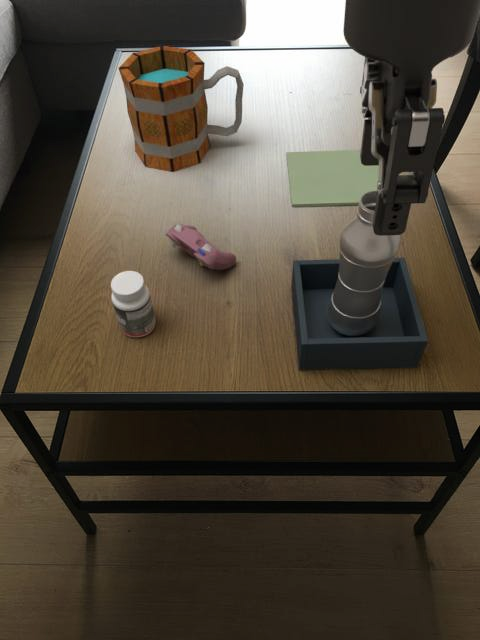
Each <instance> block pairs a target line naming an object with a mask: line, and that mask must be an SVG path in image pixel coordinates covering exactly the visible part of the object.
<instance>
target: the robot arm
mask: <svg viewBox="0 0 480 640" xmlns="http://www.w3.org/2000/svg"><path fill="white" fill-rule="evenodd" d="M479 16H480V0H345V3H344V16H343V31H342V32H343V37H344V40H345V42H346V43H347V45H348V46H349V47H350V48H351V49H352V50H353V51H354V52H355V53H357V54H358V55H360V56H363V57H364V64H363V72H362V80H361V86H360V87H359V94H360V95H361V114H362V118H363V119H364V121H363V129H362V135H361V136H362V137H361V144H360V150H361V153H360V159H361V163H362V164H363V165H365V166H374V165H379V174H378V182H377V190H378V193H377V199H376V206H375V212H374V218H373V230H374V233H375V234H376V235H378V236H385V235H400V236H401V235H402V234H404V233H405V232H406V229H407V226H408V225H407V224H408V221H409V215H410V212H411V206H412V204H414V205H415V204H425V203H426V202H427V199H428V197H429V190H430V185H431V180H432V176H433V172H434V167H435V163H436V157H437V155H438V148H439V144H440V140H441V135H442V131H443V126H444V124H445V121H446V116H445V111H444V108H443V107H434V106H435V105H436V103H437V95H438V94H437V93H438V92H437V91H438V82H437V79H436V78H433V74H432V73H433V70H434V68H436V67H437V66H438V65H439V64H440V63H441V64H442V63H443V62H444V61H446V60H448V59H450V58H453V57H455V56H457V55H459V54H460V53H462V52H463V51H464V50H466V48H467V47H468V46H469V45H470V43H472V40H473V38H474V36H475V33H476V28H477V24H478V21H479ZM402 173H408V174H402Z"/></svg>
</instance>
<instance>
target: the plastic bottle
mask: <svg viewBox="0 0 480 640" xmlns="http://www.w3.org/2000/svg"><path fill="white" fill-rule="evenodd" d="M377 193H378V190H373V191H368V192H366V193H364V194H363V195H362V196H361V198H360V200H359V205H357V208H356V215H355V216H354V217H353V218H351V219H350V220H349V221H348V222H347V223H346V224H345V225H344V227H343V228H342V231H341V232H340V234H339V245H338V246H339V259H340V265H339V274H338V279H337V283H336V286H335V289H334V292H333V294H332V296H331V298H330V300H329V303H328V306H327V314H328V320H329V323H330V324H331V326H332V327H333V328H334V329H335V330H336V331H338V332H339V333H341V334H343V335H346V336H360V335H363V334H366V333H368V332H369V331H371V330H372V329H373V328H374V326H375V325H376V323H377V321H378V320H379V317H380V312H381V295H382V289H383V284H384V281H385V278H386V276H387V273H388V270H389V268H390V266H391V264H392V263H393V261H394V259H395V258H397V254H398V252H399V250H400V247H401V241H402V240H401V235H385V236H378V235H376V234H375V233H374V230H373V218H374V212H375V206H376V199H377Z"/></svg>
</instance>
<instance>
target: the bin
mask: <svg viewBox="0 0 480 640" xmlns="http://www.w3.org/2000/svg"><path fill="white" fill-rule="evenodd" d="M339 265H340V258H338V259H337V258H335V259H334V258H333V259H300V260H299V259H297V260H296V259H295V260H294V259H293V261H292V272H291V285H290V286H291V287H290V288H291V289H290V290H291V299H292V300H291V301H292V308H293V309H292V310H293V311H292V312H293V320H294V332H295V344H296V354H297V364H298V365H297V366H298V371H318V370H320V371H322V370H361V369H366V370H367V369H403V368H404V369H407V368H408V369H410V368H418V367H419V364H420V362H421V360H422V357H423V355H424V352H425V350H426V348H427V347H428V343H429V339H428V334H427V331H426V328H425V325H424V321H423V317H422V314H421V310H420V306H419V303H418V299H417V296H416V292H415V289H414V286H413V282H412V277H411V274H410V271H409V267H408V264H407V260H406V258H405V257H395V259H394V261H393V263H392V264H391V266H390V268H389V270H388V273H387V276H386V278H385V281H384V284H383V289H382V295H381V312H380V317H379V320H378V321H377V323H376V325H375V326H374V328H373V329H372V330H371V331H369V332H368V333H366V334H363V335H360V336H346V335H343V334H341V333H339V332H338V331H336V330H335V329H334V328H333V327H332V326H331V324H330V323H329V320H328V314H327V306H328V303H329V300H330V298H331V296H332V294H333V292H334V289H335V286H336V283H337V279H338V274H339Z"/></svg>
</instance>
